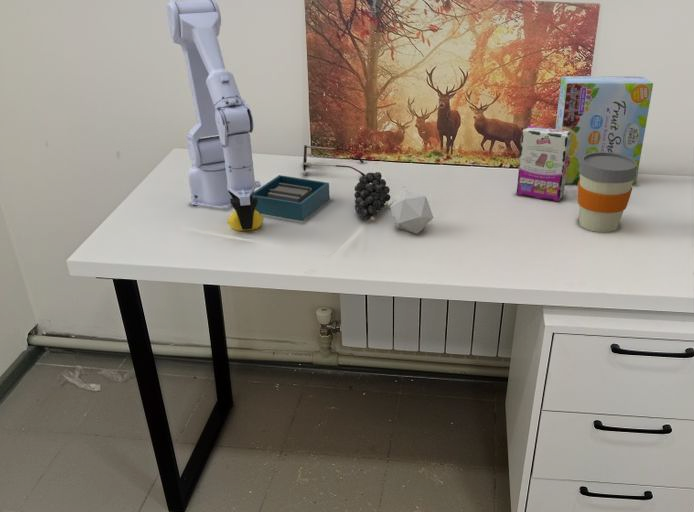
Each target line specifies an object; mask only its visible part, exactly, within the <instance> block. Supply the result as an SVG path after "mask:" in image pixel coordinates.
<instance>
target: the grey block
mask: <svg viewBox="0 0 694 512" xmlns="http://www.w3.org/2000/svg"><path fill="white" fill-rule="evenodd" d="M311 194H312V188H310V187H304V186H298V185H291V184H285V183H279V186H278V187H277V188H275V189H270V192H269V193H268V197H269V198H275V199H281V200H287V201H293V202H299V203H300V202H302V201H303V200H304V199H306V198H307V197H308V196H310V195H311Z"/></svg>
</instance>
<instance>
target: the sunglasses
mask: <svg viewBox="0 0 694 512" xmlns="http://www.w3.org/2000/svg"><path fill="white" fill-rule="evenodd" d="M308 149H322V150H335V151H344V152H345V151H346V152H349V153H350V154H352V155H353V156H354V157H356V158H357V159H358V161H360V163H361V164H363V163H364V160H363V159H362V158H361V157H359V155H358V154H356V153H354V152H353V151H352V150H350V149H346V148H339V147H320V146H313V145H306V144H304V147H303V161H302V164H303V165H302V167H303V168H302V169H303V170H302V171H303V172H304V173H303V174H304V176H306V171H307V166H321V167H322V166H323V167H335V168H347V169H352V170H353V171H356V172H358V173H359V175H361V177H362V176H365V177H366V174H365V173H364V172H363V171H361V170H359V169H357V168H355V167H353V166H352V165H351V166H350V165H339V164H326V163H325V164H324V163H323V164H322V163H313V162H307V159H308V158H307V154H308Z"/></svg>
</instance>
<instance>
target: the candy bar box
mask: <svg viewBox="0 0 694 512" xmlns="http://www.w3.org/2000/svg"><path fill="white" fill-rule="evenodd" d="M571 132H572V131H566V130H559V129H555V128H549V127H543V126H535V125H534V126H533V125H527V126H526V127H525V128H523V130H522V133H521V142H520V143H521V144H520V152H519V153H520V155H519V163H518V164H519V165H518V166H519V167H518V175H517V185H516V195H517V196H522V197H527V198H535V199H539V200H546V201H554V202H560V201H561V199H562V198H563V197H564V195H565V185H566V184H565V179H566V171H567V163H568V155H569V148H570V140H571Z"/></svg>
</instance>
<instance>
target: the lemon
mask: <svg viewBox="0 0 694 512" xmlns="http://www.w3.org/2000/svg"><path fill="white" fill-rule="evenodd" d="M263 221H264V217H263V216H262V214H260V213H259V212H258V211H256V210H255V211H254V216H253V226H252V229H245V230H243V229H242V227H241V225H240V221H239V218H238V215H237V212H236V210H234V211H232V213H230V214H229V217H228V219H227V224H228V225H229V226H230V227H231V229H233V230H234V231H237V232H243V231H254V230H258V229H259V228H260V227H261V225H262V224H263Z"/></svg>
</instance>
